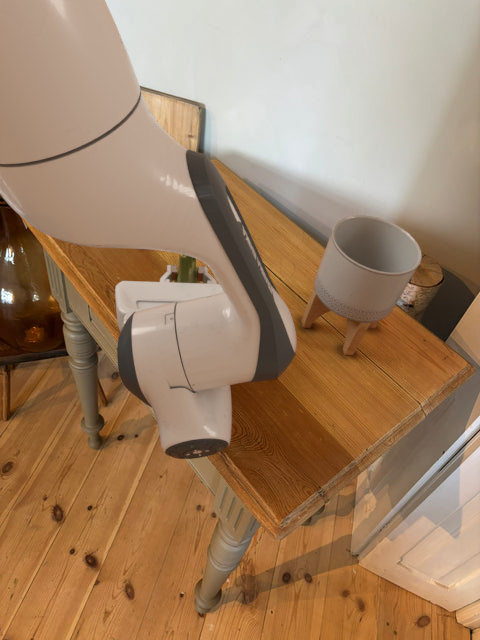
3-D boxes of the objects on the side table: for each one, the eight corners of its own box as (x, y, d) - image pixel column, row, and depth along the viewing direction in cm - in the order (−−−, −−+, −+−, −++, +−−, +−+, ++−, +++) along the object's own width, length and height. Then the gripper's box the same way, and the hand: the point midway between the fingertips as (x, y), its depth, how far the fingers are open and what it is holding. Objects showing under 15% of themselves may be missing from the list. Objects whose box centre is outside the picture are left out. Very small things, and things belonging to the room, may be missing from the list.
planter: (294, 296, 81) (322, 212, 68) (362, 298, 84) (402, 217, 71) (310, 355, 73) (346, 272, 60) (385, 355, 75) (436, 275, 62)
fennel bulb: (187, 286, 76) (193, 227, 68) (208, 303, 75) (217, 245, 66) (160, 302, 73) (163, 242, 64) (181, 320, 71) (187, 261, 62)
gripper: (272, 325, 60) (257, 255, 69) (110, 322, 56) (117, 249, 65) (263, 354, 65) (250, 285, 74) (112, 354, 61) (118, 281, 70)
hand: (186, 268), depth 70 cm, fingers closed on fennel bulb, 3 cm apart
